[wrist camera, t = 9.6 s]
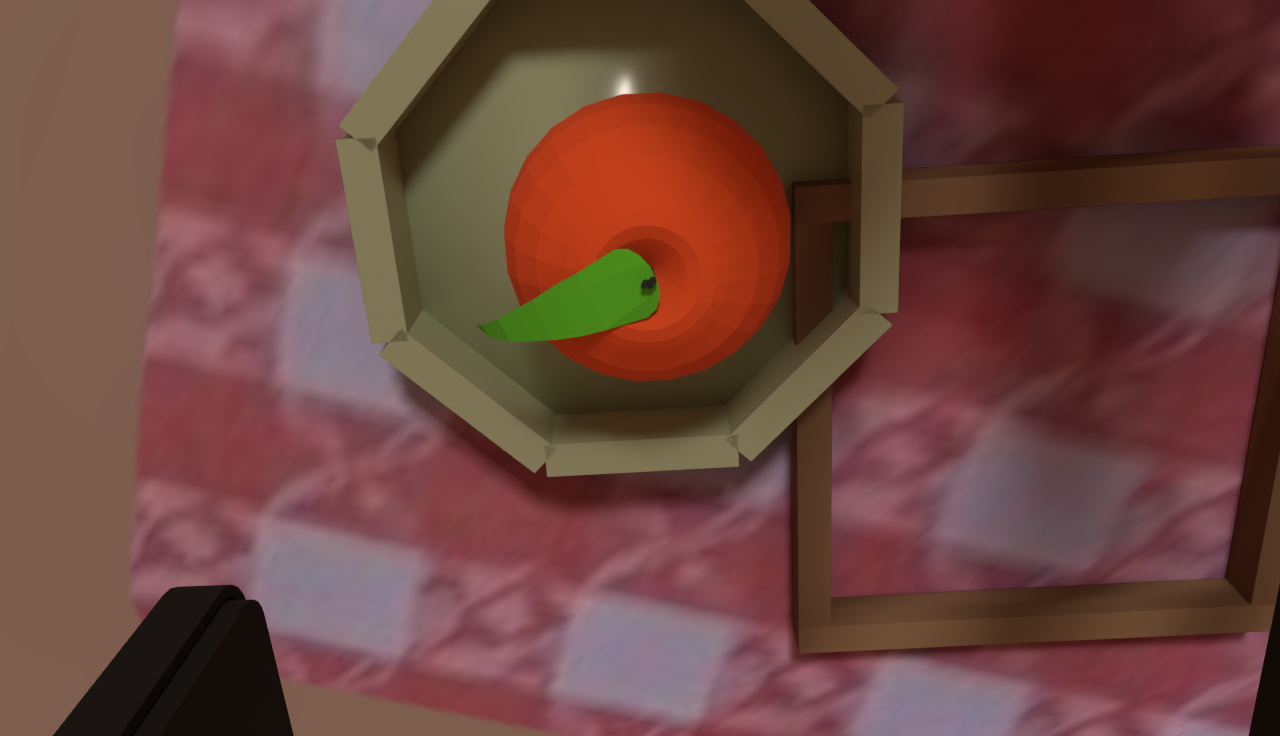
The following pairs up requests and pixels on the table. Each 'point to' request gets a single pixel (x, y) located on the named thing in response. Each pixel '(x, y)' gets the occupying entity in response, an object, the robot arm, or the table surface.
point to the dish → (493, 156)
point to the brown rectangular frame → (1242, 602)
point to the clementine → (644, 238)
